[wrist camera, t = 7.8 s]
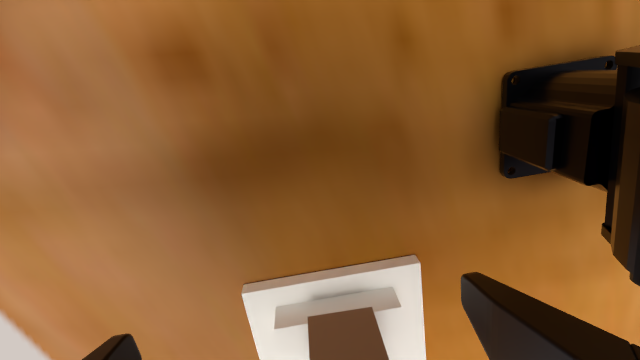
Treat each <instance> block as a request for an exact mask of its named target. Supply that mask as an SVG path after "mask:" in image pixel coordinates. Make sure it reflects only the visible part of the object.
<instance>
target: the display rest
mask: <svg viewBox="0 0 640 360" xmlns="http://www.w3.org/2000/svg"><path fill="white" fill-rule="evenodd" d="M241 295H242V298H243V302H244V305H245V309H246V312H247V316H248V319H249V323H250V327H251V330H252V334H253V337H254V341H255V344H256V348H257V352H258V355H259V359H260V360H310V359H309V338H308V318H307V317H309V316H316V315H322V314H328V313H335V312H341V311H347V310H354V309H360V308H367V307H372V308H373V312H374V315H375V318H376V321H377V324H378V327H379V330H380V333H381V336H382V339H383V342H384V345H385V349H386V352H387V355H388V358H389V360H426V350H425V333H424V316H423V299H422V282H421V265H420V261H419V260H418V258H417V257H416V255H411V256H405V257H399V258H393V259H388V260H382V261H376V262H370V263H365V264H359V265H353V266H347V267H342V268H336V269H330V270H324V271H318V272H313V273H307V274H301V275H295V276H290V277H284V278H278V279H272V280H267V281H261V282H255V283H249V284H244V285H243V289H242V293H241Z"/></svg>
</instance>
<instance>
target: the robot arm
mask: <svg viewBox="0 0 640 360" xmlns="http://www.w3.org/2000/svg"><path fill="white" fill-rule="evenodd" d="M606 62H607V66H606V68H605V63H606ZM617 65H618V69H617ZM513 77H515V79H516V80H515V82H514V83H513V84H512V82H511V80H512V78H513ZM499 150H500V151H501V157H500V173H501V174H502V175H503V176H505V177H507V178H517V177H523V176H529V175H535V174H540V173H546V172H553V173H556V174H558V175H561V176H564V177H566V178H569V179H571V180H574V181H576V182H579V183H581V184H584V185H586V186H592V187H595V188H597V189H600V190H602V191H605V192H607V202H606V214H605V223H602V229H601V234H602V236H603V237H604V238H605V239H606V240H607V241H608V242H609V243H610V244H611V247H612V252H613V255H614V256H615V257H616V258H617V260H618V261H619V262H620V263H621V264H622V265H623V266H624V267H625V268H626V269H627V270H628V271H629V272H630V280H631V281H632V282H634V283H635V284H637V285H638V286H640V45H639V46H635V47H630V48H626V49H622V50H618V51H616V53H615V57H614V56H601V57H595V58H589V59H583V60H577V61H571V62H564V63H558V64H552V65H546V66H540V67H534V68H528V69H522V70H516V71H511V72H508V73H507V74H506V75H505V77H504V79H503V94H502V110H501V111H500V138H499ZM509 168H512V169H511V171H510V172H509V173H508V169H509ZM461 301H462V305H463V308H464V310H465V312H466V314H467V316H468V318H469V320H470V322H471V324H472V326H473V328H474V330H475V332H476V334H477V336H478V338H479V340H480V342H481V344H482V346H483V348H484V350H485V352H486V354H487V356H488V357H489V359H490V360H640V347H639V346H637V345H635V344H630V343H629V342H628V341H626V340H624V339H622V338H619V337H617V336H615V335H613V334H611V333H609V332H606V331H604V330H602V329H600V328H598V327H596V326H593V325H591V324H589V323H587V322H585V321H583V320H580V319H578V318H576V317H574V316H572V315H570V314H567V313H565V312H563V311H561V310H559V309H557V308H554V307H552V306H550V305H548V304H546V303H544V302H541V301H539V300H537V299H535V298H533V297H531V296H528V295H526V294H524V293H522V292H520V291H518V290H515V289H513V288H511V287H509V286H507V285H505V284H502V283H500V282H498V281H496V280H494V279H492V278H490V277H487V276H485V275H483V274H481V273H478V272H472V273H467V274H463V275H462V277H461ZM82 360H142V358H141V354H140V352H139V350H138V348H137V345H136V343H135V341H134V338H133V336H132V335H131V334H121V335H116V336H113V337H111V338H110V339H108V340H107V341H106V342H104V343H103V344H102V345H101V346H99V347H98V348H97V349H95V350H94V351H93V352H91V353H90V354H89V355H87V356H86V357H85V358H83V359H82Z"/></svg>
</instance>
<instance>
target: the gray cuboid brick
mask: <svg viewBox="0 0 640 360" xmlns="http://www.w3.org/2000/svg"><path fill="white" fill-rule="evenodd" d="M307 318H308V338H309V359H310V360H389V358H388V355H387V352H386V349H385V345H384V342H383V339H382V336H381V333H380V330H379V327H378V324H377V321H376V318H375V315H374V312H373V308H372V307H367V308H360V309H354V310H347V311H341V312H335V313H328V314H322V315H316V316H309V317H307Z"/></svg>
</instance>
